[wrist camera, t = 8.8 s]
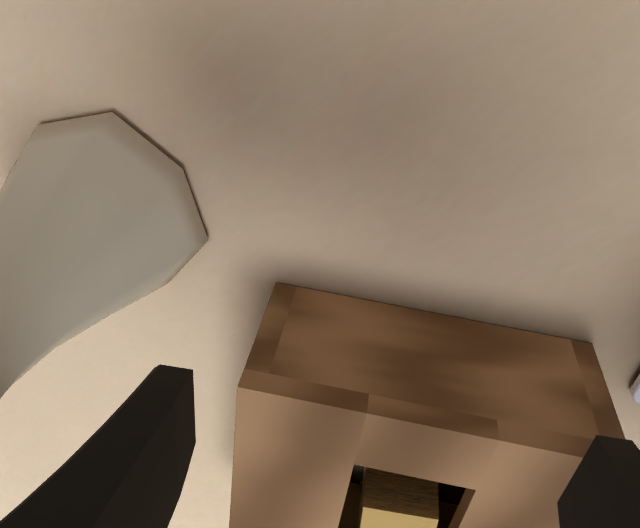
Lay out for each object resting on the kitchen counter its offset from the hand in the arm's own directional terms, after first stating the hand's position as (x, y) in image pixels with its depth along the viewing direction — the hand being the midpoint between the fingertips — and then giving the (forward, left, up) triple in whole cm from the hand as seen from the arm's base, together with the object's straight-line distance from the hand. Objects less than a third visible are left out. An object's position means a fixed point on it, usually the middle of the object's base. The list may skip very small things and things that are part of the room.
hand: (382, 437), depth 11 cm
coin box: (-2, +11, -11) cm, 15 cm away
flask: (+10, +3, -11) cm, 15 cm away
